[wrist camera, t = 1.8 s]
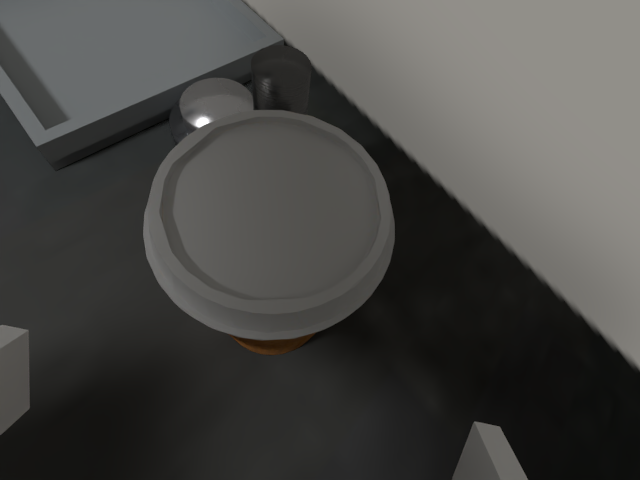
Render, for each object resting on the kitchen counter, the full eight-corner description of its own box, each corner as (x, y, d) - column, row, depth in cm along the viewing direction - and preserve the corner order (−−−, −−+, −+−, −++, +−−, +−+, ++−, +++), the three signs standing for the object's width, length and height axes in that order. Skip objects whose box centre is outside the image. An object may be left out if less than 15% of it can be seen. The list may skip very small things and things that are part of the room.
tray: (-50, 15, 33) (-73, -16, 31) (164, -47, 41) (158, -75, 38) (55, 170, 27) (36, 146, 25) (283, 64, 35) (284, 39, 32)
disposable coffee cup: (310, 219, 28) (334, 79, 17) (374, 343, 24) (454, 264, 14) (175, 266, 25) (104, 135, 14) (224, 414, 21) (178, 384, 11)
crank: (169, 108, 28) (128, -25, 20) (228, 81, 30) (212, -50, 22) (266, 220, 25) (263, 113, 17) (326, 182, 26) (349, 70, 19)
